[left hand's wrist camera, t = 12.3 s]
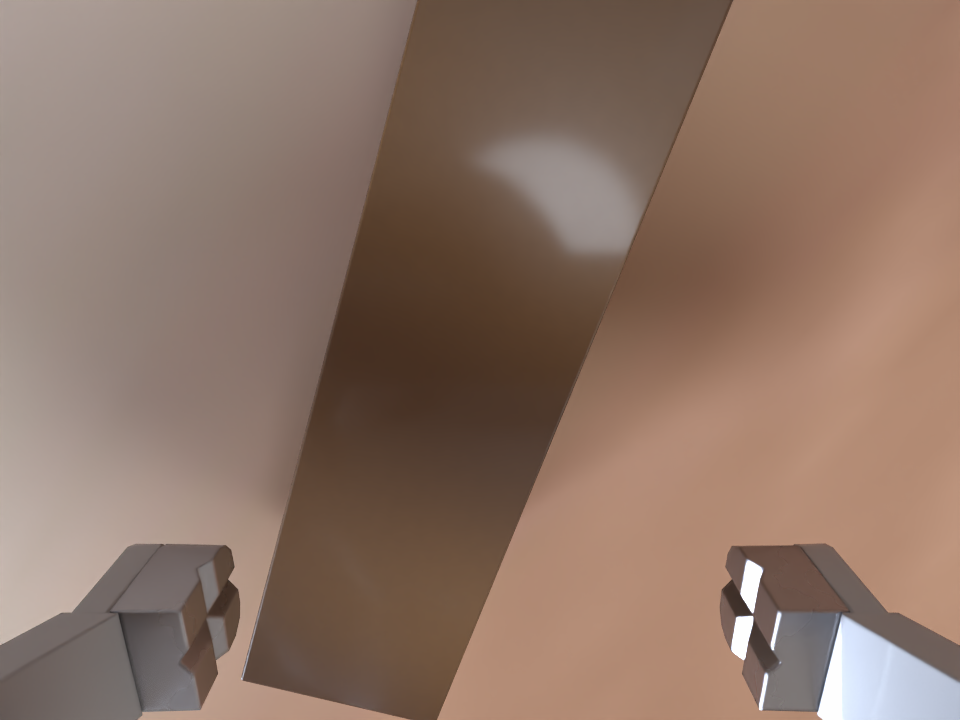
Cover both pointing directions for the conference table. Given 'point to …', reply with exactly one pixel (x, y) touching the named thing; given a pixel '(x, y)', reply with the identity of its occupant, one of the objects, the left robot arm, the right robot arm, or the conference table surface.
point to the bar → (466, 327)
